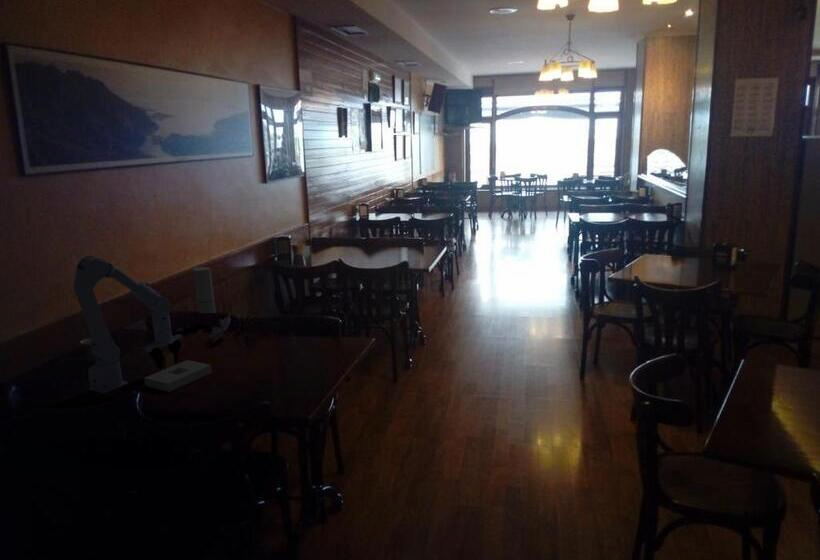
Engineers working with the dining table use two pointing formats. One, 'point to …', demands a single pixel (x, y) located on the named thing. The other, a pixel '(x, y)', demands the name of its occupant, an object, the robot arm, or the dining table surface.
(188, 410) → the dining table surface
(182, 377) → the well block
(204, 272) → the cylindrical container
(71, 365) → the dining table surface
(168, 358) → the peg
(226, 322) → the water lily
